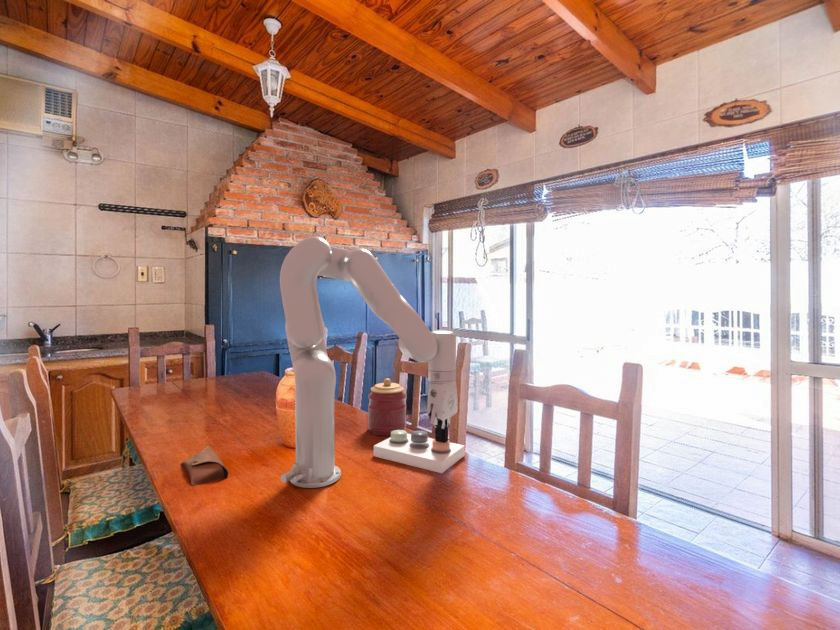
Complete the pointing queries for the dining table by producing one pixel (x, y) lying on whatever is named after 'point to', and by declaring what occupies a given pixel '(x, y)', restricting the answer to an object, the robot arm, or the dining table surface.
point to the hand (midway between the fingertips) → (441, 441)
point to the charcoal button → (419, 436)
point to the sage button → (398, 436)
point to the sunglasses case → (205, 467)
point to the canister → (386, 408)
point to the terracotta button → (440, 446)
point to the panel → (419, 454)
